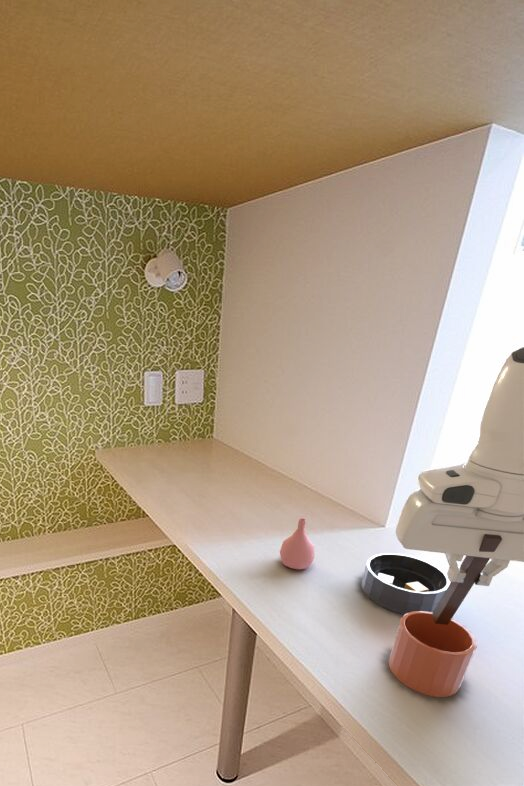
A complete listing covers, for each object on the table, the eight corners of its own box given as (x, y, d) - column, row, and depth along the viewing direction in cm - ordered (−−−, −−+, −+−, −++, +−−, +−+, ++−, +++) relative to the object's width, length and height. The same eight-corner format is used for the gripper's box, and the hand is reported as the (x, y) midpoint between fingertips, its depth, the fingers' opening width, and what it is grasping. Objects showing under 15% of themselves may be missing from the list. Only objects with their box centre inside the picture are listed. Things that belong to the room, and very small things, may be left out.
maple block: (390, 588, 91) (394, 576, 90) (388, 595, 89) (392, 583, 88) (375, 584, 93) (378, 572, 91) (373, 591, 90) (376, 578, 89)
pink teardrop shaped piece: (304, 557, 104) (311, 511, 99) (318, 574, 97) (326, 526, 92) (273, 559, 103) (279, 513, 98) (285, 576, 96) (292, 528, 91)
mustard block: (425, 601, 87) (429, 589, 86) (412, 604, 87) (416, 591, 85) (413, 593, 90) (417, 581, 89) (401, 595, 89) (405, 583, 88)
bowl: (428, 581, 96) (435, 557, 93) (452, 624, 82) (462, 598, 80) (355, 572, 98) (360, 549, 96) (367, 613, 85) (374, 587, 82)
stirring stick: (444, 615, 67) (497, 529, 55) (447, 625, 65) (502, 539, 53) (431, 614, 67) (481, 528, 55) (434, 623, 66) (486, 538, 54)
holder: (445, 658, 74) (461, 615, 70) (468, 706, 65) (488, 660, 61) (381, 649, 76) (393, 607, 72) (395, 693, 67) (410, 648, 63)
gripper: (583, 485, 54) (540, 579, 60) (406, 471, 58) (383, 561, 64) (618, 505, 48) (567, 606, 54) (420, 488, 52) (393, 584, 58)
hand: (466, 581), depth 59 cm, fingers closed on stirring stick, 2 cm apart
